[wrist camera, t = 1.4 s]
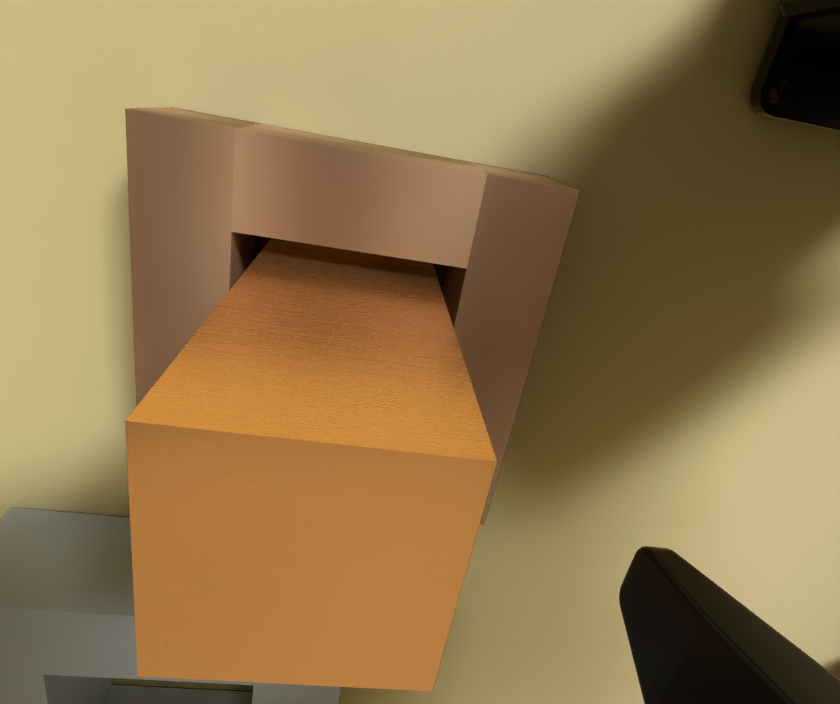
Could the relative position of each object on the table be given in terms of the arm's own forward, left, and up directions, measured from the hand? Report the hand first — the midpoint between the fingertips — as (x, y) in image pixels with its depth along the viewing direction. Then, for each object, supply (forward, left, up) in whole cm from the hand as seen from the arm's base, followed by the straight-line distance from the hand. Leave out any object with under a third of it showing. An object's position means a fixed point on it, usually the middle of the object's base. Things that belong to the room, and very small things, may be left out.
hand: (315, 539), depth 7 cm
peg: (0, 0, -8) cm, 8 cm away
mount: (0, 0, -8) cm, 8 cm away
